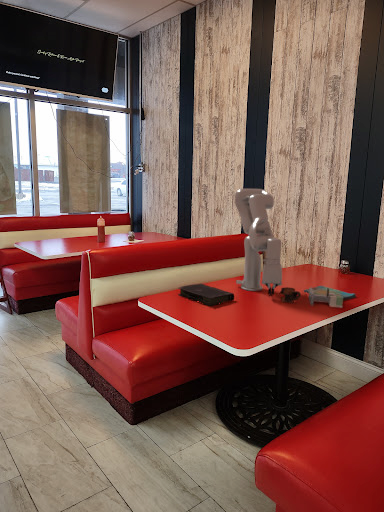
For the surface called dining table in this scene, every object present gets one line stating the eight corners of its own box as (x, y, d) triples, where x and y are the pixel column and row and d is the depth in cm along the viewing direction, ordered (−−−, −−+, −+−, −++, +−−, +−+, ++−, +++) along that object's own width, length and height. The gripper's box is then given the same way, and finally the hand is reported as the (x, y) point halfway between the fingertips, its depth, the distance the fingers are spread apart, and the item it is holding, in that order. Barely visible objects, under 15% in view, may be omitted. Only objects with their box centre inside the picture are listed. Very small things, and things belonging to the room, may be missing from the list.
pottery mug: (275, 302, 202) (276, 287, 205) (283, 306, 209) (284, 291, 212) (297, 301, 195) (297, 285, 198) (305, 305, 202) (305, 290, 204)
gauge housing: (329, 306, 196) (330, 297, 195) (327, 300, 205) (328, 291, 204) (342, 307, 194) (343, 298, 193) (339, 301, 204) (340, 292, 203)
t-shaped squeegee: (310, 305, 196) (312, 290, 194) (308, 297, 208) (309, 284, 207) (334, 307, 194) (336, 292, 192) (330, 299, 206) (332, 285, 205)
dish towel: (340, 303, 204) (340, 298, 203) (302, 292, 222) (303, 288, 221) (356, 298, 215) (357, 293, 214) (320, 288, 232) (320, 284, 232)
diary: (201, 291, 220) (202, 282, 219) (234, 301, 201) (234, 292, 200) (176, 296, 207) (176, 287, 206) (208, 307, 189) (209, 298, 188)
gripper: (258, 262, 200) (256, 296, 203) (287, 263, 197) (285, 298, 200) (258, 259, 207) (257, 292, 211) (287, 261, 204) (285, 294, 208)
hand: (270, 295), depth 205 cm, fingers closed
